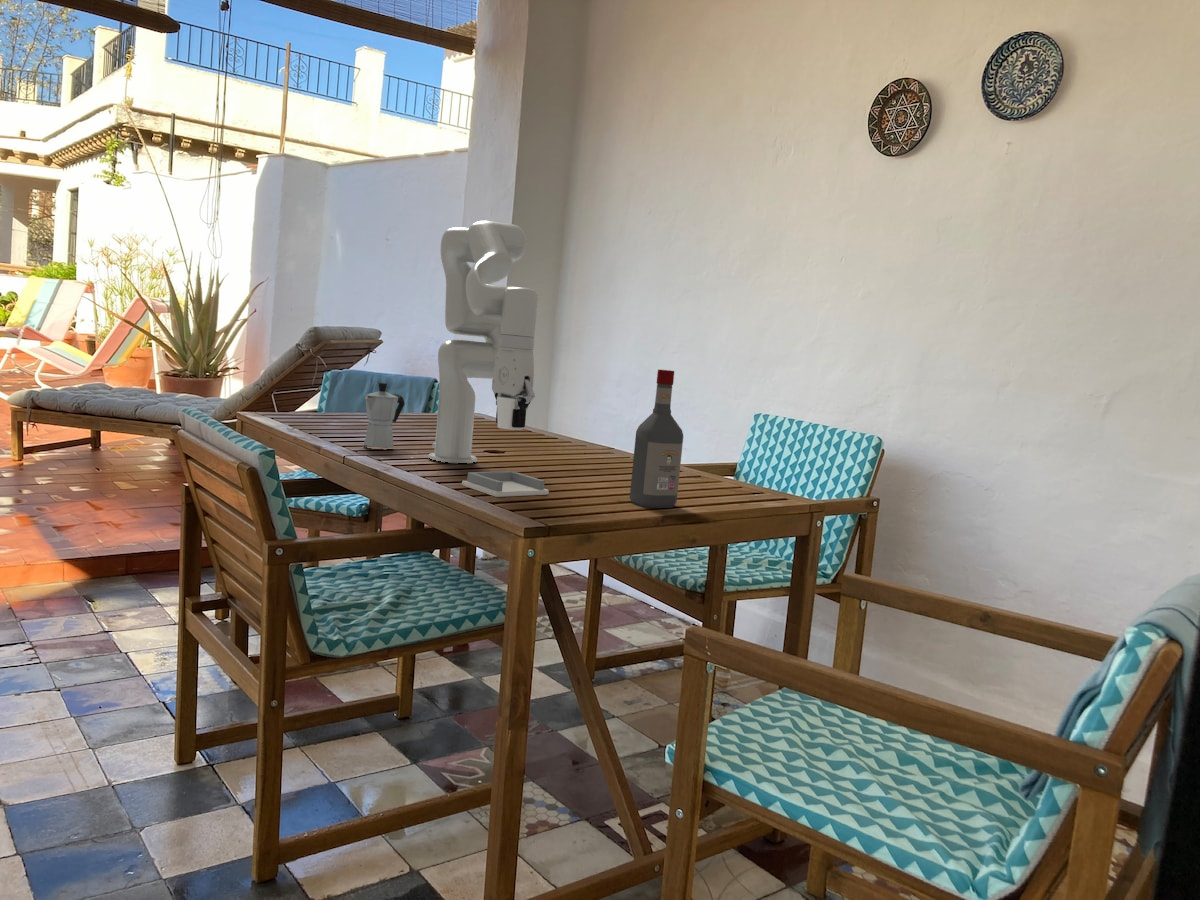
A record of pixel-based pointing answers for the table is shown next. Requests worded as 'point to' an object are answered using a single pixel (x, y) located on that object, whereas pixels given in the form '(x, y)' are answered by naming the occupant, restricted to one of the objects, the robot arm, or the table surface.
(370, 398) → the coffee maker
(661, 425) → the liquor
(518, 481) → the u rest
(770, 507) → the table surface
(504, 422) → the white cup
